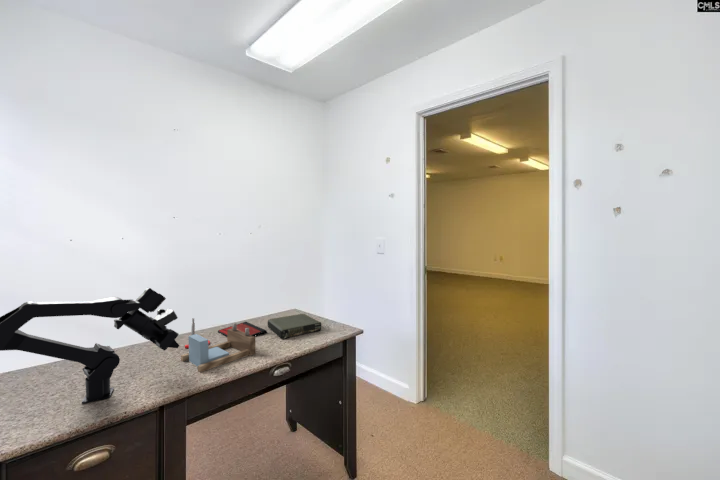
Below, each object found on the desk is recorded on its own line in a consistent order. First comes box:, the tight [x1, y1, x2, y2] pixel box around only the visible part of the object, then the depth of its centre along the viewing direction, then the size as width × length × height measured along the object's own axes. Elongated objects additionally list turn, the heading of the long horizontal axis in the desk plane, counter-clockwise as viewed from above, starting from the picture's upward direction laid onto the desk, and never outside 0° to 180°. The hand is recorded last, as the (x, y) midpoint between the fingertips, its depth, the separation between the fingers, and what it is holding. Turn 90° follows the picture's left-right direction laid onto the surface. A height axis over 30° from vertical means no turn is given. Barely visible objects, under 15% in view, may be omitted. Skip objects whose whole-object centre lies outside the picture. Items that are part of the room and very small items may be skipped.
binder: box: [217, 321, 268, 338], centre depth 151 cm, size 16×2×21 cm
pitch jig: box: [180, 322, 256, 373], centre depth 123 cm, size 22×18×10 cm
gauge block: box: [188, 333, 230, 368], centre depth 120 cm, size 11×10×10 cm
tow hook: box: [184, 317, 211, 349], centre depth 135 cm, size 8×13×9 cm
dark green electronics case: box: [267, 313, 322, 340], centre depth 156 cm, size 23×23×5 cm
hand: (178, 346), depth 111 cm, fingers closed
